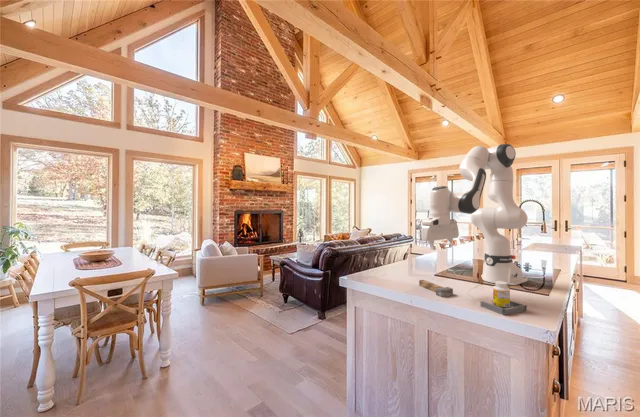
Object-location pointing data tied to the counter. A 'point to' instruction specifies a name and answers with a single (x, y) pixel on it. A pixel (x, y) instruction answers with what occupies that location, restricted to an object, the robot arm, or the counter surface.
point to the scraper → (436, 288)
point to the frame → (514, 309)
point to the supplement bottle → (501, 295)
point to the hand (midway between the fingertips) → (440, 248)
